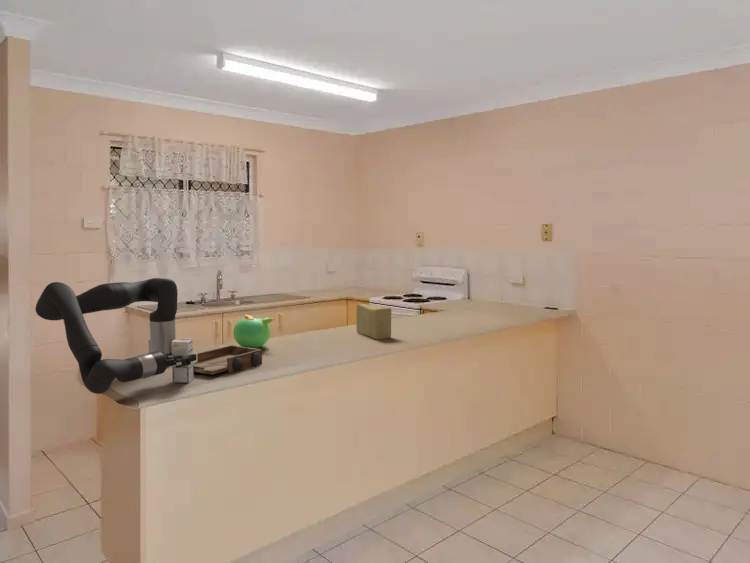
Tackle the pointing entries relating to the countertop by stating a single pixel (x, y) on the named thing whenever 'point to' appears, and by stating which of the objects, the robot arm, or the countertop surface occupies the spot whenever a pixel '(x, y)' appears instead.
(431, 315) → the countertop surface
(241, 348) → the cart
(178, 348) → the syrup box
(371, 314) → the olive rectangular block
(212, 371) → the tailgate
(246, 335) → the green ball creature
